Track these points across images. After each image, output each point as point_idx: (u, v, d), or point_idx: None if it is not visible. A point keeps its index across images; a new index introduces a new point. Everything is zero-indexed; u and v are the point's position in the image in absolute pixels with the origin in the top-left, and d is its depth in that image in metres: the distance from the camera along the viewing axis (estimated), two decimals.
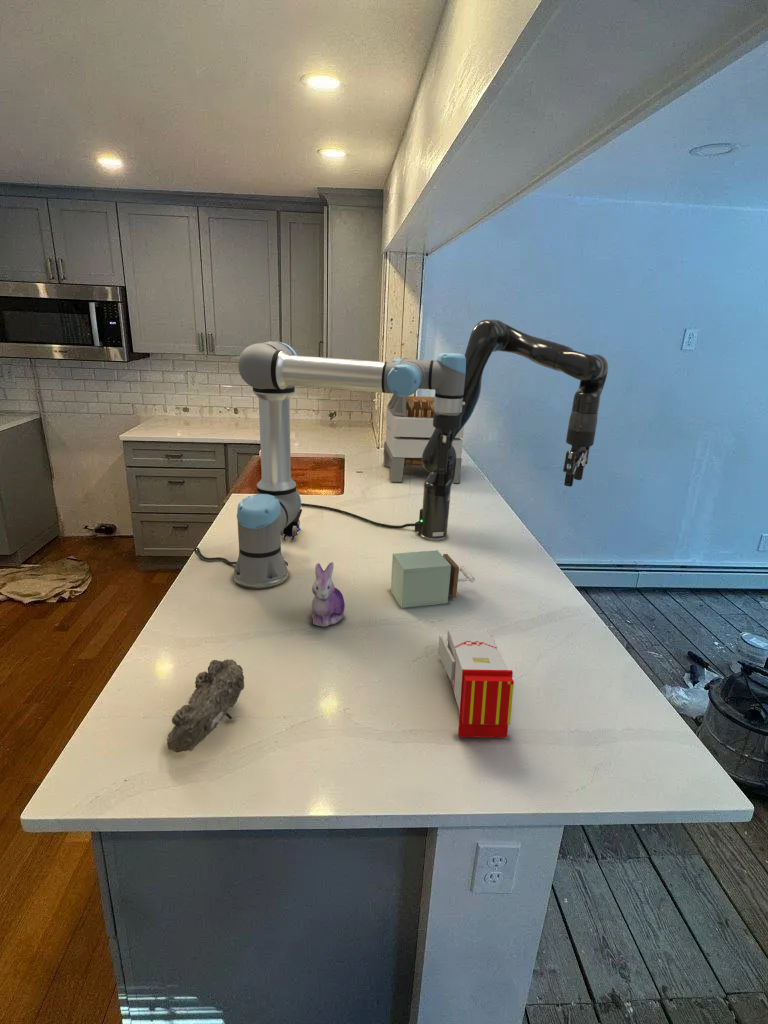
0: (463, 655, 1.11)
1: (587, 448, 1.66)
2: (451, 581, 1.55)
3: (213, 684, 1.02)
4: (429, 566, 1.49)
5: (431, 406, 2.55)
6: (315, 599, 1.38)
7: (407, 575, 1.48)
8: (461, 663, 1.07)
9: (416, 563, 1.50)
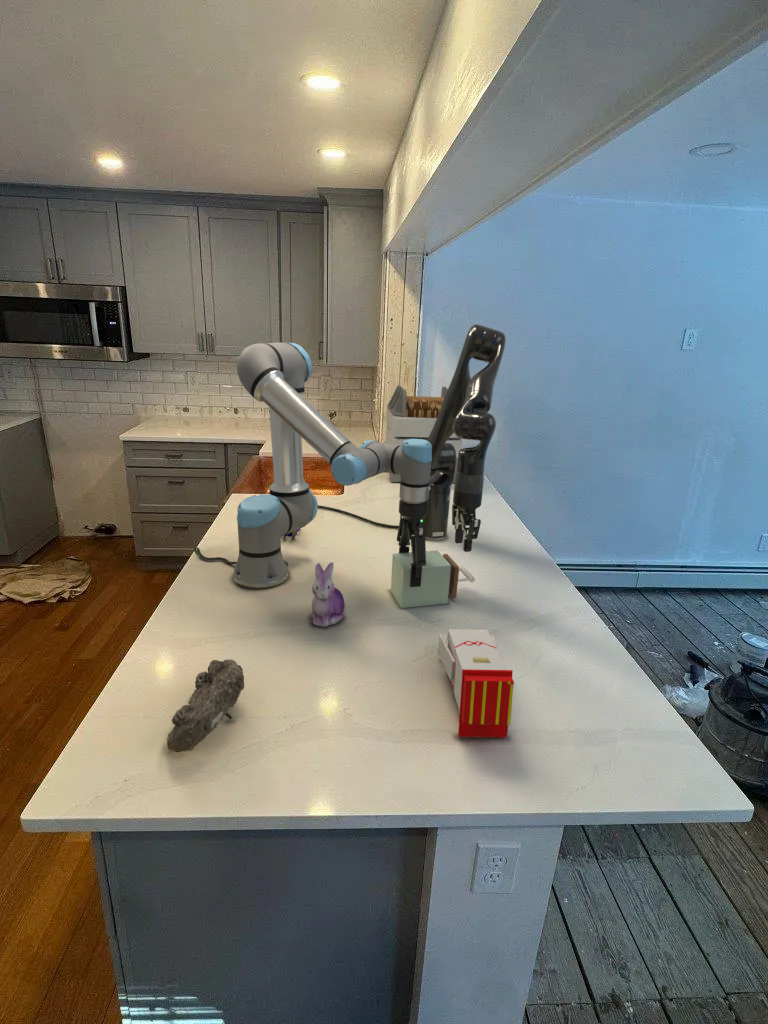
0: (463, 655, 1.11)
1: None
2: (451, 581, 1.55)
3: (213, 684, 1.02)
4: (429, 566, 1.49)
5: (431, 406, 2.55)
6: (315, 599, 1.38)
7: (407, 575, 1.48)
8: (461, 663, 1.07)
9: None
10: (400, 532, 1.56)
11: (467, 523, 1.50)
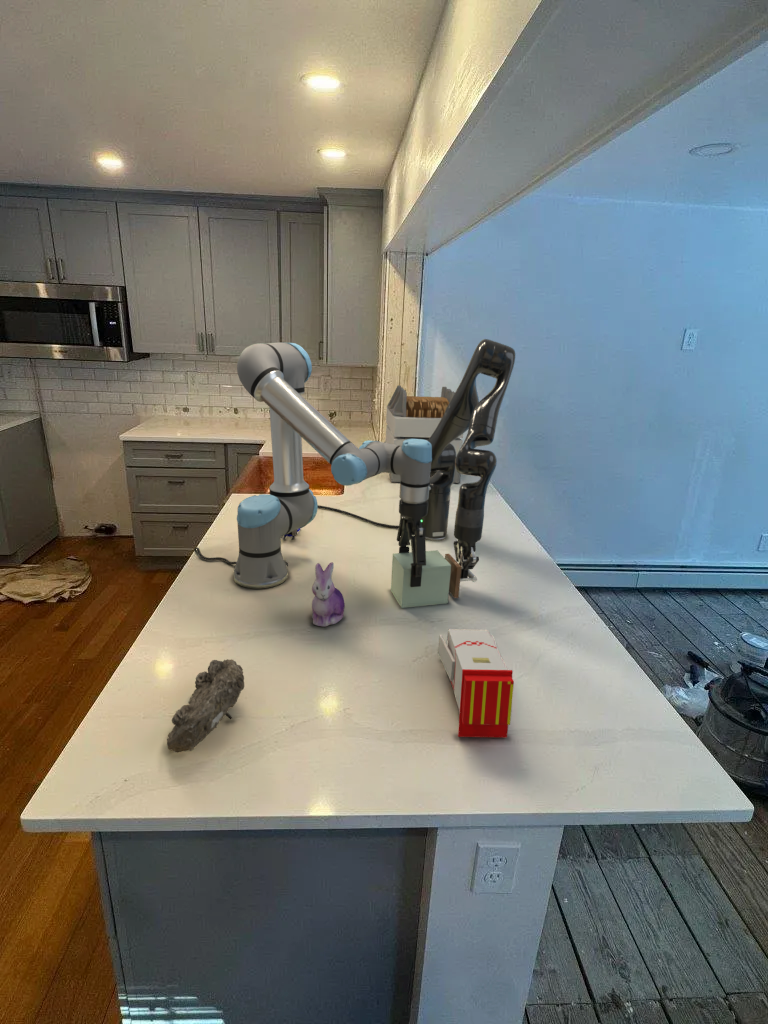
0: (463, 655, 1.11)
1: None
2: (453, 581, 1.55)
3: (213, 684, 1.02)
4: (429, 566, 1.49)
5: (431, 406, 2.55)
6: (315, 599, 1.38)
7: (407, 575, 1.48)
8: (461, 663, 1.07)
9: None
10: (400, 532, 1.56)
11: (467, 556, 1.53)
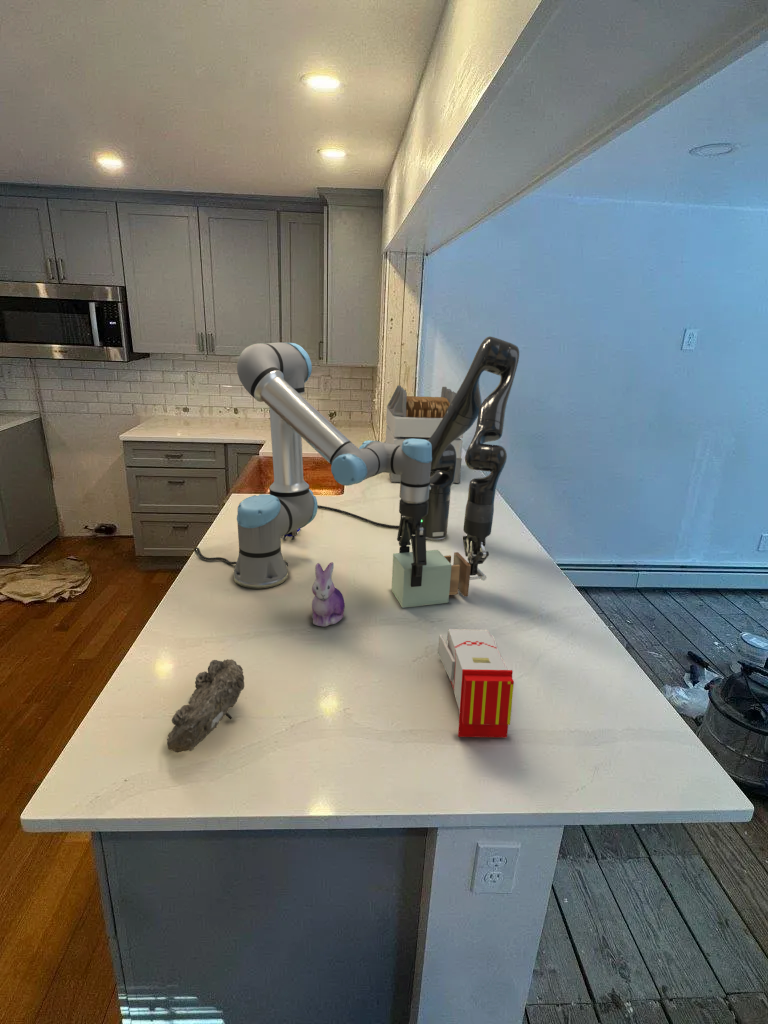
0: (463, 655, 1.11)
1: None
2: (463, 579, 1.55)
3: (213, 684, 1.02)
4: (429, 566, 1.49)
5: (431, 406, 2.55)
6: (315, 599, 1.38)
7: (408, 575, 1.48)
8: (461, 663, 1.07)
9: None
10: (400, 532, 1.56)
11: (477, 551, 1.54)
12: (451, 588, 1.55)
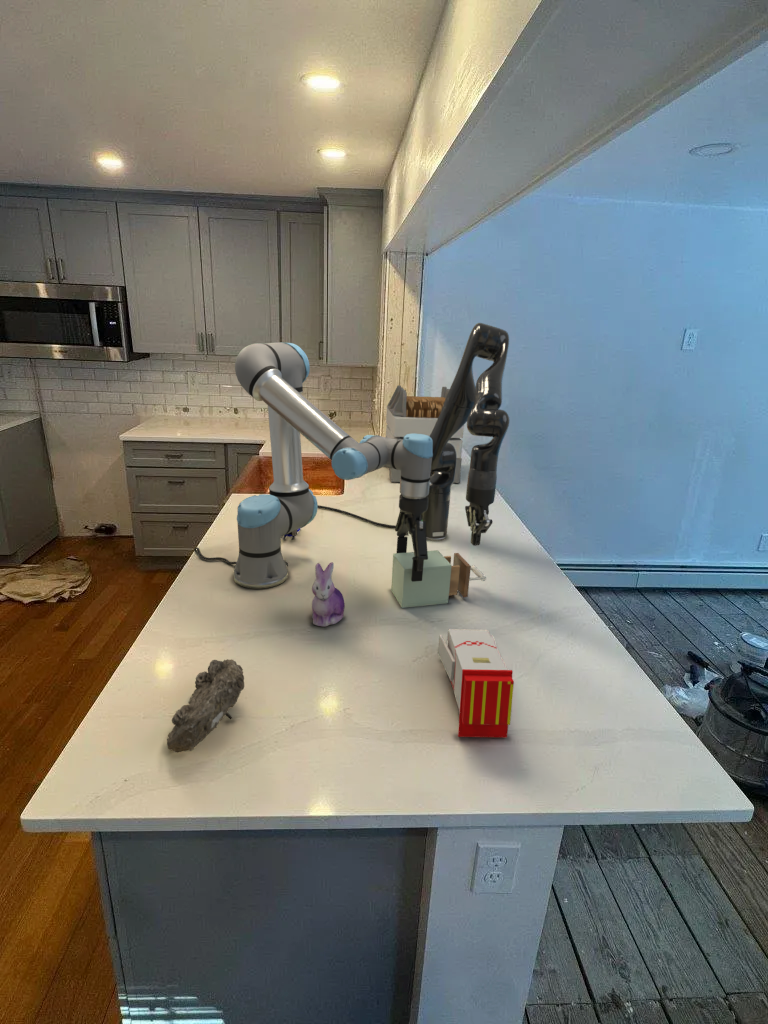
0: (463, 655, 1.11)
1: None
2: (462, 580, 1.55)
3: (213, 684, 1.02)
4: (429, 566, 1.49)
5: (431, 406, 2.55)
6: (315, 599, 1.38)
7: (407, 575, 1.48)
8: (461, 663, 1.07)
9: None
10: (399, 524, 1.56)
11: (480, 519, 1.51)
12: (450, 588, 1.55)
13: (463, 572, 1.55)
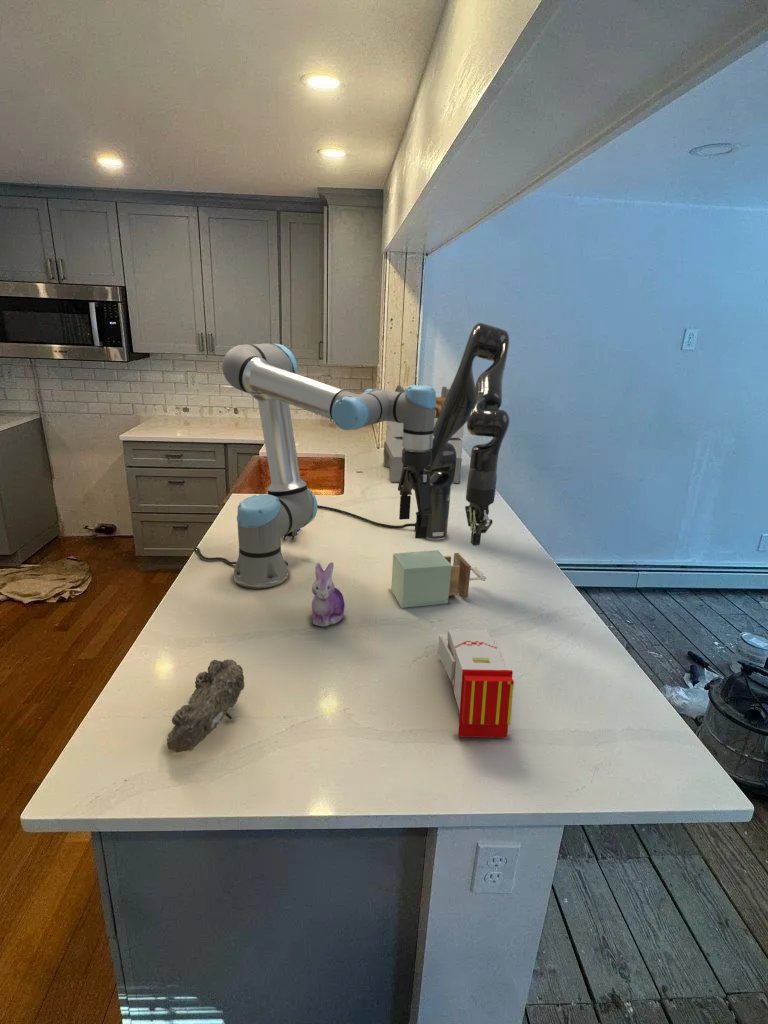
0: (463, 655, 1.11)
1: None
2: (462, 580, 1.55)
3: (213, 684, 1.02)
4: (429, 566, 1.49)
5: None
6: (315, 599, 1.38)
7: (407, 575, 1.48)
8: (461, 663, 1.07)
9: (417, 563, 1.50)
10: (402, 482, 1.52)
11: (480, 519, 1.51)
12: (450, 588, 1.55)
13: (463, 572, 1.55)
